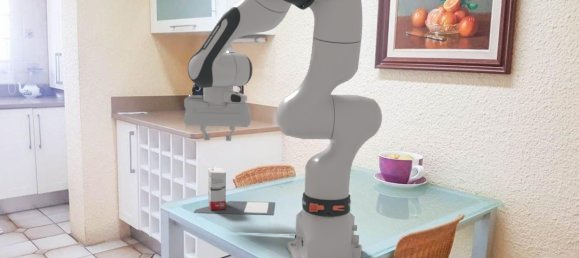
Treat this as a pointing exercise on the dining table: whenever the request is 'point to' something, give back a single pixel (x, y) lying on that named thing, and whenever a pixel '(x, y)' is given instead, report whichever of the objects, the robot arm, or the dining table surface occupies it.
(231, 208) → the mat
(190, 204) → the dining table surface
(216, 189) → the ink box
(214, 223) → the dining table surface
